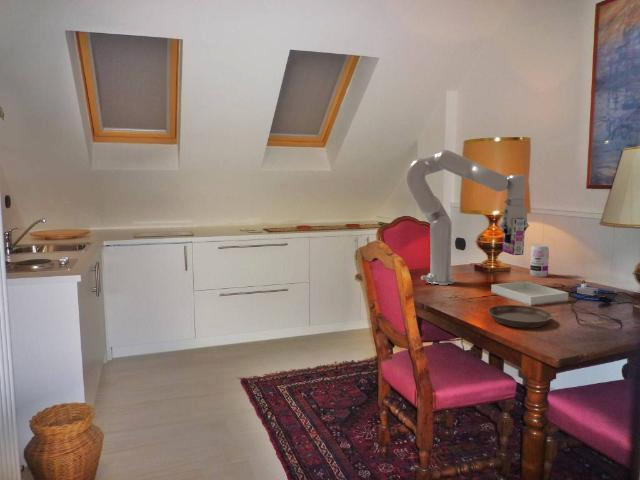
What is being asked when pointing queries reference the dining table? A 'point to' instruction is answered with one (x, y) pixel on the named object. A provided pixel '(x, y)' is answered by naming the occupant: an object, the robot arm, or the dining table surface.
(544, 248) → the supplement can
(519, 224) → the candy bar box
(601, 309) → the dining table surface
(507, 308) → the plant saucer
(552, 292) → the tray
